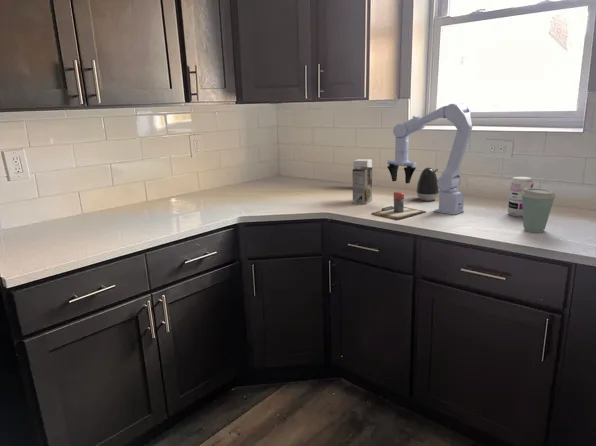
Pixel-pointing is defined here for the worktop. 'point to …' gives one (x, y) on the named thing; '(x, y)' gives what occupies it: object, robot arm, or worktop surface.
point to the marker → (398, 202)
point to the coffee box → (362, 185)
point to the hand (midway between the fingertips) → (400, 182)
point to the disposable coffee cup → (536, 208)
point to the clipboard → (389, 213)
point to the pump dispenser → (427, 185)
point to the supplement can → (518, 194)
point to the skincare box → (362, 163)
